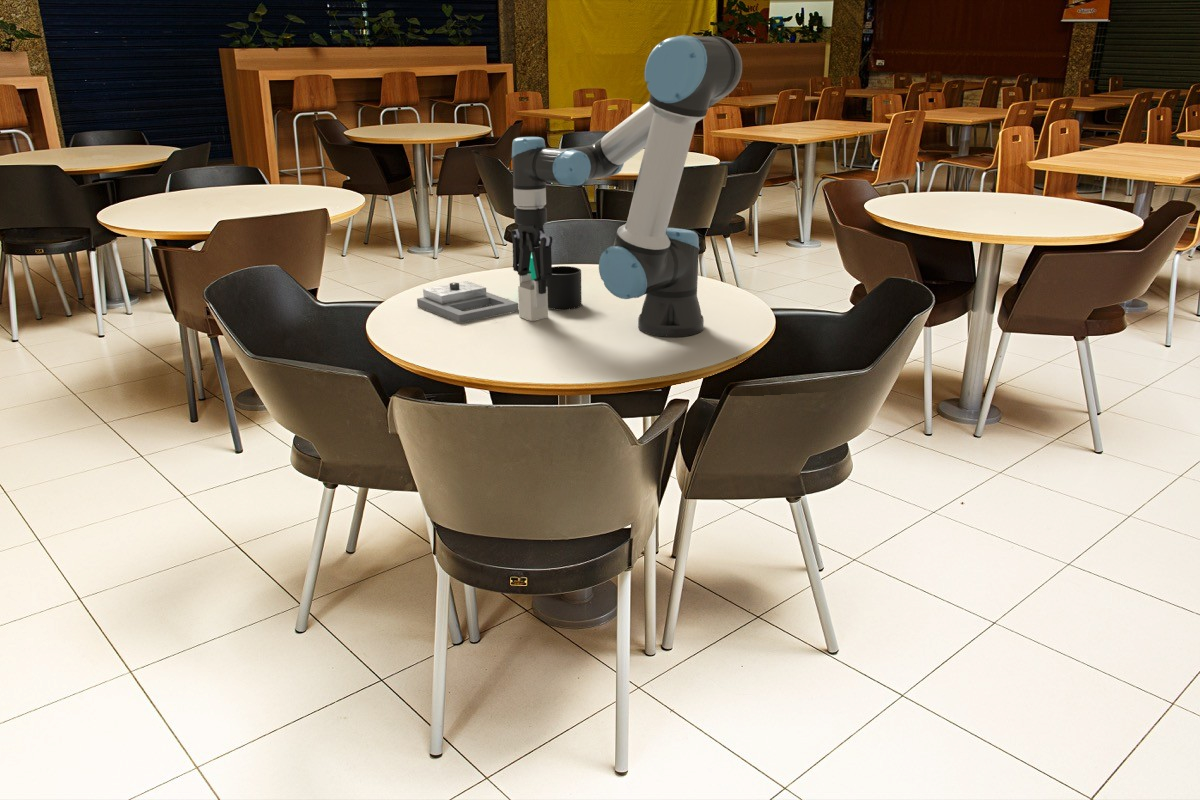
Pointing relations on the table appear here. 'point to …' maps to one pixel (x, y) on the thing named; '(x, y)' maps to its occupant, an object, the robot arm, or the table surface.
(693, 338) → the table surface
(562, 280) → the mug
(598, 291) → the table surface
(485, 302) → the grey flat frame
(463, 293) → the panel
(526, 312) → the plug
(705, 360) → the table surface
